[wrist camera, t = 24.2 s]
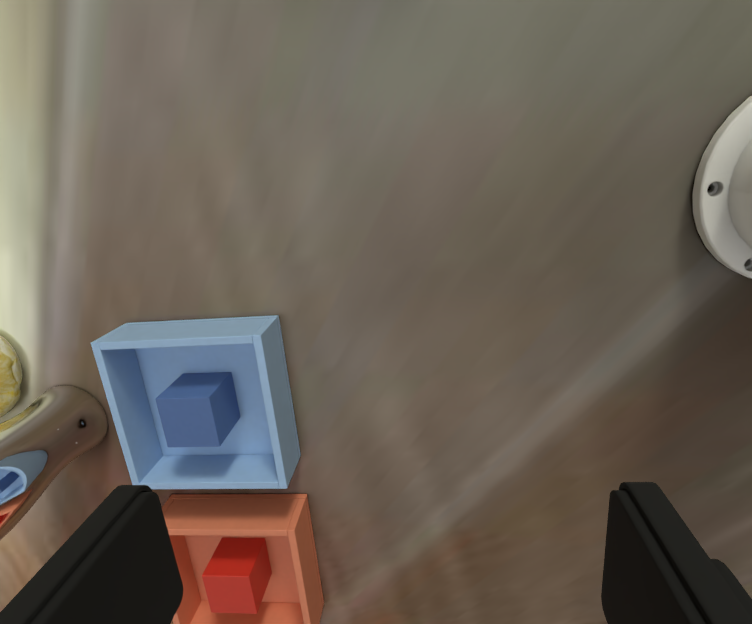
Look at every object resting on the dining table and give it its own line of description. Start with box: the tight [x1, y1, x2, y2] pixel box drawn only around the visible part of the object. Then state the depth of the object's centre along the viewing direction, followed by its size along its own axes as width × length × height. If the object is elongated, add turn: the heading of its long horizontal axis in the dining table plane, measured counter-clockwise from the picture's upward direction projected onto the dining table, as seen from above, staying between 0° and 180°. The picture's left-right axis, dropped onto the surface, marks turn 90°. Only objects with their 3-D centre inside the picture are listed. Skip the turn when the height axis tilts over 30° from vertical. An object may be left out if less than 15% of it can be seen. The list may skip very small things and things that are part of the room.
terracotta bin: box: [162, 494, 324, 624], centre depth 40 cm, size 12×12×4 cm
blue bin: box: [91, 315, 301, 489], centre depth 35 cm, size 12×12×4 cm
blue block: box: [155, 372, 240, 447], centre depth 35 cm, size 4×4×4 cm
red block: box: [202, 538, 272, 614], centre depth 40 cm, size 4×4×4 cm
